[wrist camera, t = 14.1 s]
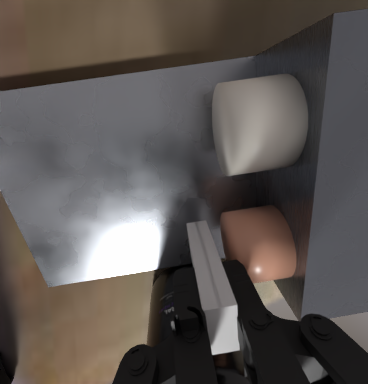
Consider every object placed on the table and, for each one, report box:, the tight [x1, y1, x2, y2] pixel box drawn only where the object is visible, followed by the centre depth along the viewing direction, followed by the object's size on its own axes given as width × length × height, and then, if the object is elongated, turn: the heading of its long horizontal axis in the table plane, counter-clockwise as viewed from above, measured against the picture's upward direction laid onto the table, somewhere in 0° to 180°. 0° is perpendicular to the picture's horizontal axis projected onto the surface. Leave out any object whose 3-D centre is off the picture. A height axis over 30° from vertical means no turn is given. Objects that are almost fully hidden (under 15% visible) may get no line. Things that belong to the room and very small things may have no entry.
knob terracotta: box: [220, 205, 296, 283], centre depth 13 cm, size 13×4×4 cm, turn 98°
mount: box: [0, 9, 368, 321], centre depth 12 cm, size 25×14×7 cm, turn 98°
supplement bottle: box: [147, 263, 250, 384], centre depth 14 cm, size 7×7×12 cm
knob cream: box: [212, 74, 308, 176], centre depth 11 cm, size 13×4×4 cm, turn 98°
